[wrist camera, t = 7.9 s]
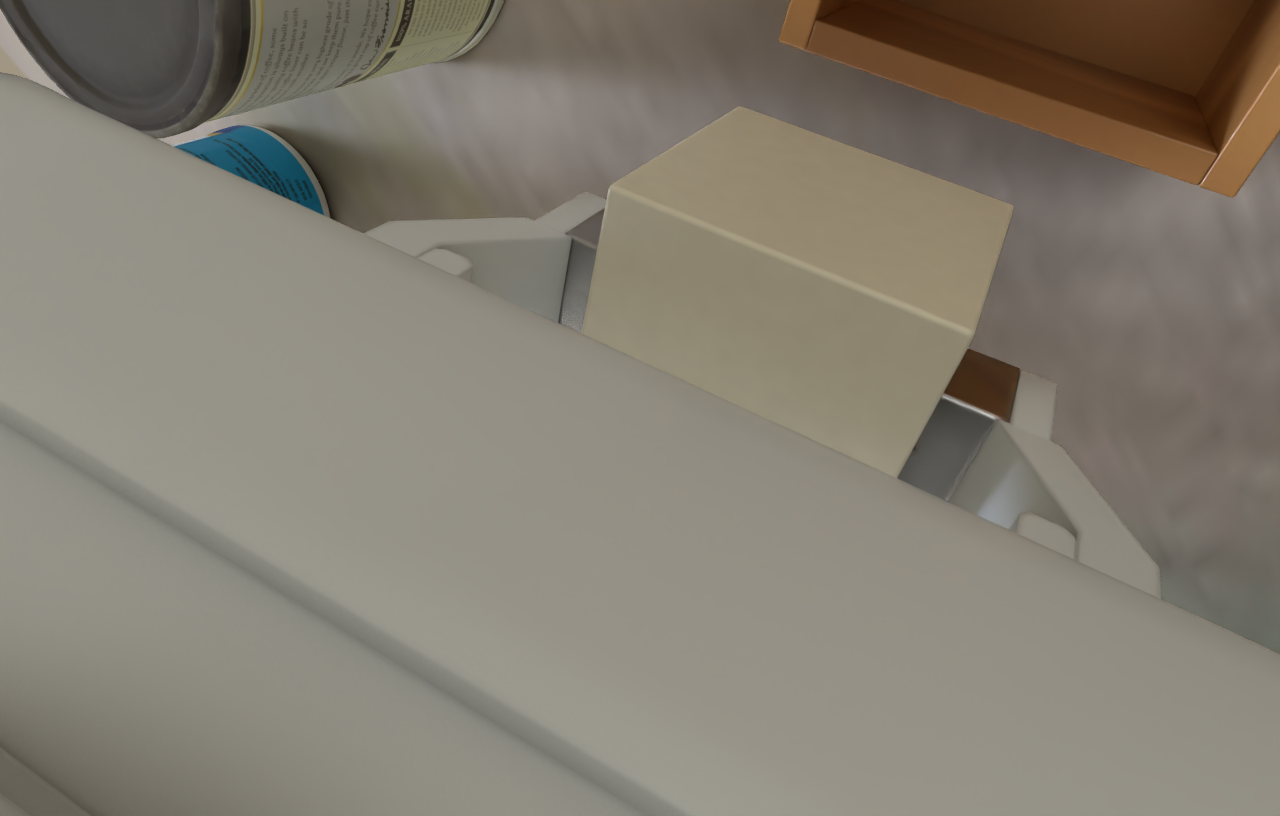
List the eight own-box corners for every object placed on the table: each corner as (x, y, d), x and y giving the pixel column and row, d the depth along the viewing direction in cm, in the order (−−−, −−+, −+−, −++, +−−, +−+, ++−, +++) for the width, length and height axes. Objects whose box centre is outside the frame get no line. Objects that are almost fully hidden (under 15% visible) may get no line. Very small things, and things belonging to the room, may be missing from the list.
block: (897, 434, 15) (832, 600, 11) (675, 334, 16) (555, 459, 12) (1016, 204, 12) (976, 333, 9) (739, 104, 13) (606, 183, 10)
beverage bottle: (352, 286, 45) (-36, 489, 30) (241, 261, 48) (-162, 433, 33) (320, 127, 41) (-156, 270, 25) (199, 111, 44) (-289, 229, 28)
